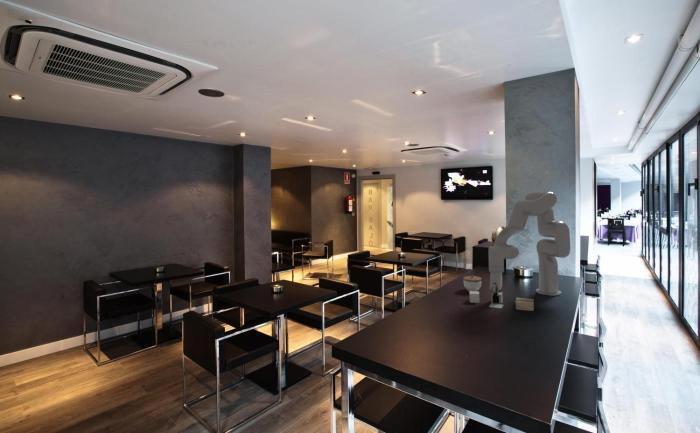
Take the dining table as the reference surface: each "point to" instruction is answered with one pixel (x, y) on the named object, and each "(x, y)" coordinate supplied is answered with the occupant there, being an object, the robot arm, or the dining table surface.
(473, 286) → the lidded jar
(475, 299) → the offwhite cube
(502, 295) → the sage cube
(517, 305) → the tan square block
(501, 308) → the sage swatch
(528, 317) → the dining table surface
